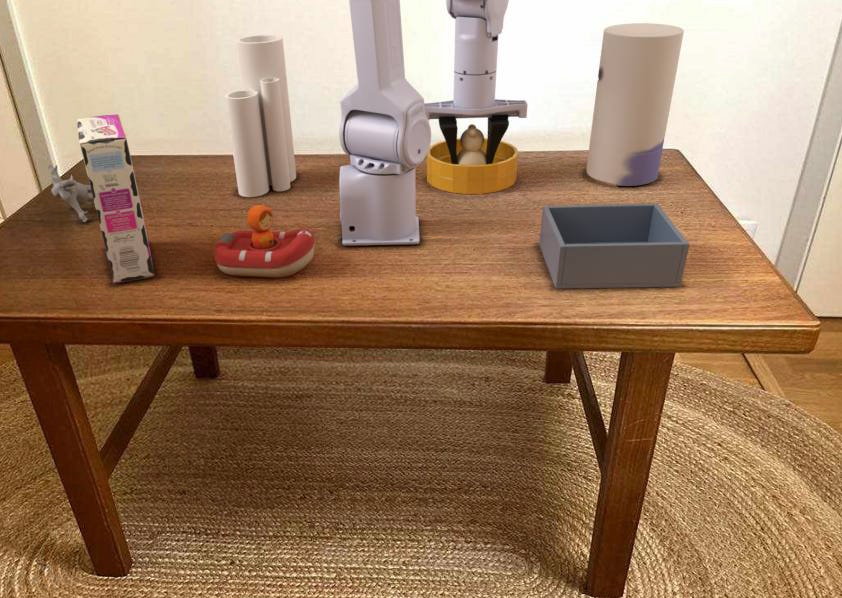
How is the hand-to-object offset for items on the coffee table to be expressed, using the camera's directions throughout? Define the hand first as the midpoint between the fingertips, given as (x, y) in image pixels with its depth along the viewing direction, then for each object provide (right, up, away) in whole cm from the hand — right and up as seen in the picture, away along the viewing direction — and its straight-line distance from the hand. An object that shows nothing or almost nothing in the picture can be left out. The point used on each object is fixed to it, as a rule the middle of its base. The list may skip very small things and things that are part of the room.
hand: (471, 168), depth 106 cm
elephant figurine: (-56, -7, -2) cm, 57 cm away
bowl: (0, -2, +1) cm, 2 cm away
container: (+22, -1, +1) cm, 22 cm away
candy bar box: (-44, -16, -17) cm, 50 cm away
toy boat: (-27, -17, -20) cm, 38 cm away
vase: (-30, -2, +4) cm, 30 cm away
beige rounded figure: (0, -1, +1) cm, 2 cm away
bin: (+12, -17, -23) cm, 31 cm away
